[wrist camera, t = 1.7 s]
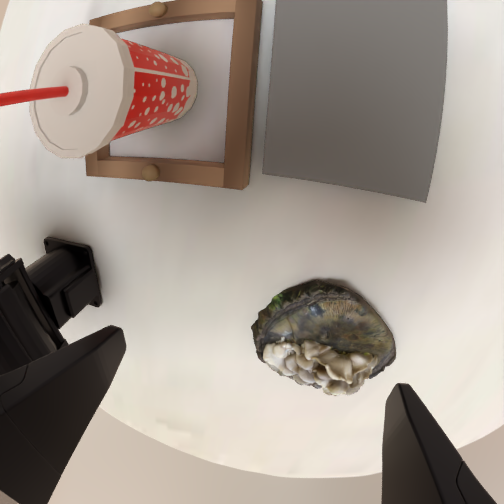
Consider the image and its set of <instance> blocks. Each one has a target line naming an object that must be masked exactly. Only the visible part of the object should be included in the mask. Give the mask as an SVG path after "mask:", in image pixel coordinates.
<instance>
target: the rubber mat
mask: <svg viewBox="0 0 504 504" xmlns="http://www.w3.org/2000/svg"><path fill="white" fill-rule="evenodd" d="M447 36H448V23H447V0H276V10H275V23H274V36H273V48H272V61H271V74H270V86H269V99H268V111H267V123H266V136H265V148H264V160H263V172H262V174H266V175H274V176H282V177H289V178H296V179H303V180H309V181H316V182H322V183H328V184H334V185H340V186H346V187H351V188H357V189H362V190H368V191H373V192H378V193H383V194H388V195H393V196H397V197H402V198H407V199H411V200H416V201H420V202H425V203H426V200H427V196H428V192H429V187H430V183H431V178H432V173H433V168H434V163H435V157H436V152H437V146H438V140H439V133H440V126H441V119H442V111H443V102H444V92H445V81H446V66H447Z"/></svg>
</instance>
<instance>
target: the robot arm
mask: <svg viewBox="0 0 504 504" xmlns="http://www.w3.org/2000/svg"><path fill="white" fill-rule="evenodd" d="M44 245H45V250H46V254H45V255H44V256H42V257H41V258H40V259H38V260H37V261H35V262H34V263H32V264H31V265H30V266H28V267H27V268H25V267H24V265H23V264H24V263H23V261H22V259H21V258H20V259H17V260H15V259H14V258H13V257H12V256H11V255H10V254H7V255H5V256H4V257H2V258H1V259H0V504H17V503H19V504H47V503H48V502H49V500H50V497H51V495H52V493H53V491H54V489H55V487H56V485H57V483H58V481H59V479H60V477H61V475H62V473H63V471H64V469H65V467H66V465H67V464H68V461H69V460H70V458H71V456H72V454H73V452H74V450H75V448H76V446H77V445H78V443H79V441H80V439H81V437H82V435H83V434H84V432H85V430H86V428H87V426H88V424H89V422H90V421H91V419H92V417H93V415H94V414H95V412H96V410H97V408H98V407H99V405H100V403H101V401H102V399H103V398H104V396H105V394H106V393H107V391H108V389H109V387H110V385H111V383H112V381H113V378H114V376H115V374H116V372H117V369H118V367H119V365H120V363H121V360H122V358H123V356H124V354H125V351H126V342H125V338H124V333H123V330H122V329H121V328H120V327H117V326H114V325H110V326H107V327H105V328H103V329H101V330H99V331H97V332H95V333H93V334H90V335H88V336H86V337H84V338H82V339H80V340H78V341H76V342H74V343H71V344H69V345H68V343H67V341H66V339H64V338H63V336H62V335H61V333H60V331H59V330H58V329H60V328H61V327H62V326H63V325H64V324H65V323H66V322H67V321H68V320H69V319H70V318H71V317H72V318H74V317H75V316H76V315H77V314H78V313H79V312H80V311H81V310H82V309H83V308H84V307H86V306H87V305H88V304H89V305H92V306H95V307H100V306H101V305H102V300H101V296H100V291H99V287H98V282H97V277H96V272H95V267H94V262H93V256H92V251H91V249H90V247H89V246H86V245H81V244H77V243H72V242H68V241H64V240H59V239H55V238H51V237H47V238H45V239H44ZM462 460H463V459H462V457H461V456H460V454H459V453H458V451H457V450H456V448H455V447H454V446H453V444H452V443H451V441H450V440H449V438H448V437H447V436H446V434H445V433H444V431H443V430H442V428H441V427H440V426H439V424H438V423H437V421H436V420H435V419H434V417H433V416H432V414H431V413H430V412H429V410H428V409H427V407H426V406H425V405H424V403H423V402H422V401H421V399H420V398H419V397H418V395H417V394H416V392H415V391H414V390H413V388H412V387H411V386H410V385H409V384H406V383H397V384H396V385H395V387H394V388H393V390H392V392H391V393H390V395H389V397H388V398H387V401H386V406H385V420H384V432H383V444H382V504H497V503H496V502H495V501H494V500H493V498H492V497H491V496H490V495H489V494H488V492H487V491H486V490H485V489H484V488H483V486H482V485H481V484H480V483H479V481H478V480H477V479H476V477H475V476H474V475H473V473H472V472H471V470H470V469H469V468H468V466H467V464H466V463H465V461H462Z"/></svg>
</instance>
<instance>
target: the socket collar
mask: <svg viewBox="0 0 504 504" xmlns="http://www.w3.org/2000/svg"><path fill="white" fill-rule="evenodd" d="M262 3H263V2H262V0H175V1H169V2H163V3H161V2H155V3H153V4H152V5H147V6H142V7H137V8H133V9H129V10H124V11H120V12H117V13H113V14H109V15H106V16H102V17H99V18H95V19H92V20H90V23H89V25H93V26H98V27H102V28H106V29H109V30H113V31H114V32H115V33H119V32H123V31H128V30H133V29H138V28H144V27H150V26H156V25H162V24H170V23H178V22H187V21H197V20H210V19H231V18H234V26H233V38H232V50H231V63H230V77H229V91H228V106H227V123H226V140H225V159H224V163H218V162H207V161H194V160H180V159H164V158H144V157H111V156H110V154H109V144H107V145H105V146H104V147H102V148H100V149H98V150H97V151H95V152H93V153H91V154H87V155H86V156H85V159H86V174H87V176H95V177H112V178H127V179H140V180H146V181H164V182H174V183H185V184H194V185H204V186H213V187H221V188H230V189H238V190H243V189H244V188H245V187H246V186H247V185H248V184H249V172H250V158H251V144H252V131H253V117H254V104H255V91H256V78H257V65H258V52H259V40H260V27H261V15H262Z"/></svg>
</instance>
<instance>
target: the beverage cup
mask: <svg viewBox="0 0 504 504" xmlns="http://www.w3.org/2000/svg"><path fill="white" fill-rule="evenodd" d="M197 85H198V81H197V78H196V76H195V73H194V70H193V69H192V68H191V67H190V66H189V65H188V64H187V63H186V62H185V61H184V60H181V59H178V58H176V57H173V56H171V55H168V54H165V53H163V52H160V51H157V50H154V49H151V48H149V47H146V46H143V45H140V44H137V43H134V42H131V41H127V40H124V39H121V38H120V37H119V36H118V35H117V34H116V33H115V32H114V31H113V30H109V29H106V28H102V27H98V26H93V25H88V24H80V25H77V26H75V27H72V28H69V29H66V30H64V31H63V32H62V33H60V34H59V35H58V36H57V37H56V38H55V39H54V40H53V41H52V42H50V43H49V44H48V46H47V47H46V49H45V50H44V52H43V54H42V56H41V57H40V59H39V61H38V63H37V64H36V67H35V70H34V74H33V78H32V81H31V85H30V89H29V90H21V91H14V92H7V93H1V94H0V106H5V105H11V104H16V103H22V102H28V101H29V109H30V116H31V119H32V123H33V127H34V130H35V133H36V135H37V136H38V138H39V139H40V141H41V142H42V144H43V145H44V146H45V148H46V149H47V150H49V151H50V152H52V153H54V154H55V155H57V156H59V157H60V158H82V157H84V156H86V155H87V154H91V153H93V152H95V151H97V150H98V149H100V148H102V147H104V146H105V145H107V144H109V143H110V141H112V140H115V139H118V138H121V137H124V136H127V135H130V134H133V133H136V132H139V131H142V130H145V129H148V128H152V127H155V126H158V125H162V124H165V123H169V122H172V121H174V120H176V119H178V118H181V117H182V116H183V115H184V114H185V113H186V112H187V111H188V110H189V109H190V108H191V107H192V105H193V103H194V101H195V98H196V96H197Z"/></svg>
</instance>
